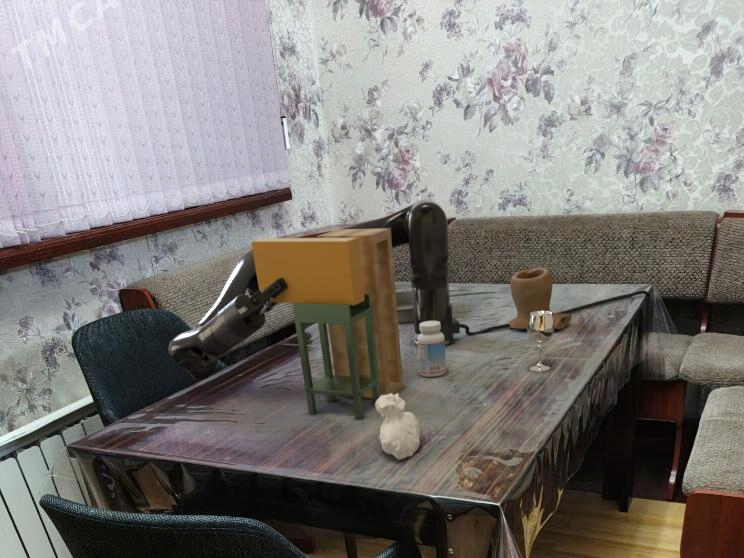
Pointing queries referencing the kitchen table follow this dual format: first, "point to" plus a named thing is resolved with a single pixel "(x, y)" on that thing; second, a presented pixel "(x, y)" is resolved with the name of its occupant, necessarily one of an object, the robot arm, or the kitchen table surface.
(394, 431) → the white tied sack
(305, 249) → the book
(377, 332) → the tall stand
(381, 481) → the kitchen table surface
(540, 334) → the wineglass
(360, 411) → the book rack
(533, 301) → the brown clay vessel
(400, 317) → the cake pan
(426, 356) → the pill bottle
